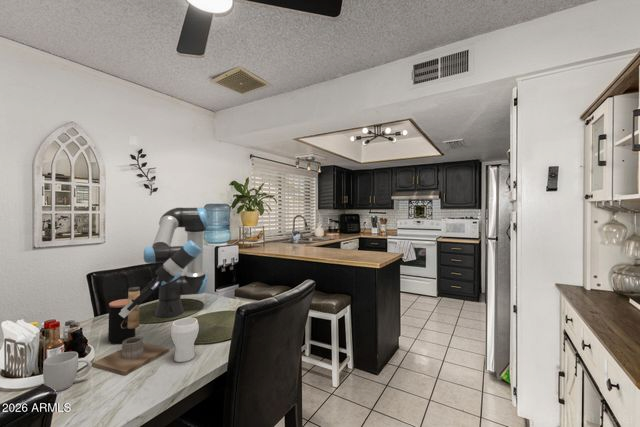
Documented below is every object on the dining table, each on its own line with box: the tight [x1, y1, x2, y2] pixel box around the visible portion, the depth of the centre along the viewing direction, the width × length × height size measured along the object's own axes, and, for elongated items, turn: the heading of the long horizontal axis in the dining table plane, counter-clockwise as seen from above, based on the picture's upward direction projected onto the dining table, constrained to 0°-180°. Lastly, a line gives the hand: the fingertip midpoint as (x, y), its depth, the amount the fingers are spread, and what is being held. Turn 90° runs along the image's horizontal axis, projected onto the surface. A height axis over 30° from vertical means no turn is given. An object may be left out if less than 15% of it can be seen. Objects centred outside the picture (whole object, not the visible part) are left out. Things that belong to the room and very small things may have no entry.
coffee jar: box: [107, 298, 136, 345], centre depth 136 cm, size 11×11×18 cm
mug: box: [42, 351, 92, 392], centre depth 100 cm, size 13×9×10 cm
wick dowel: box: [127, 286, 141, 329], centre depth 119 cm, size 4×4×16 cm
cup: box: [170, 317, 200, 363], centre depth 121 cm, size 11×11×15 cm
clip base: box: [91, 336, 170, 376], centre depth 119 cm, size 20×18×8 cm
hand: (122, 313), depth 117 cm, fingers closed on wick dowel, 4 cm apart
